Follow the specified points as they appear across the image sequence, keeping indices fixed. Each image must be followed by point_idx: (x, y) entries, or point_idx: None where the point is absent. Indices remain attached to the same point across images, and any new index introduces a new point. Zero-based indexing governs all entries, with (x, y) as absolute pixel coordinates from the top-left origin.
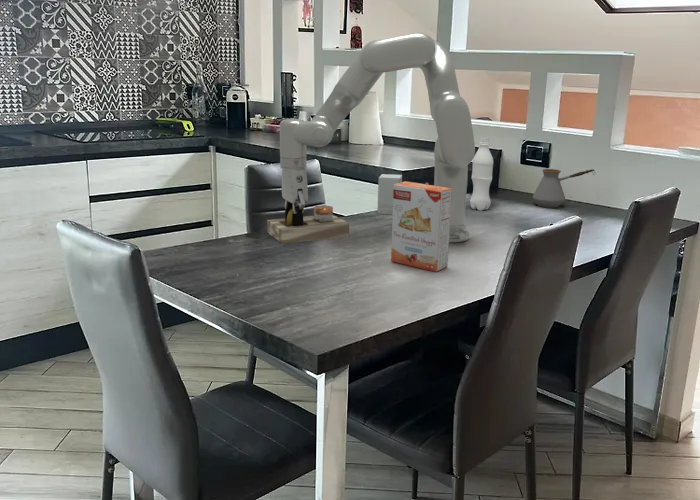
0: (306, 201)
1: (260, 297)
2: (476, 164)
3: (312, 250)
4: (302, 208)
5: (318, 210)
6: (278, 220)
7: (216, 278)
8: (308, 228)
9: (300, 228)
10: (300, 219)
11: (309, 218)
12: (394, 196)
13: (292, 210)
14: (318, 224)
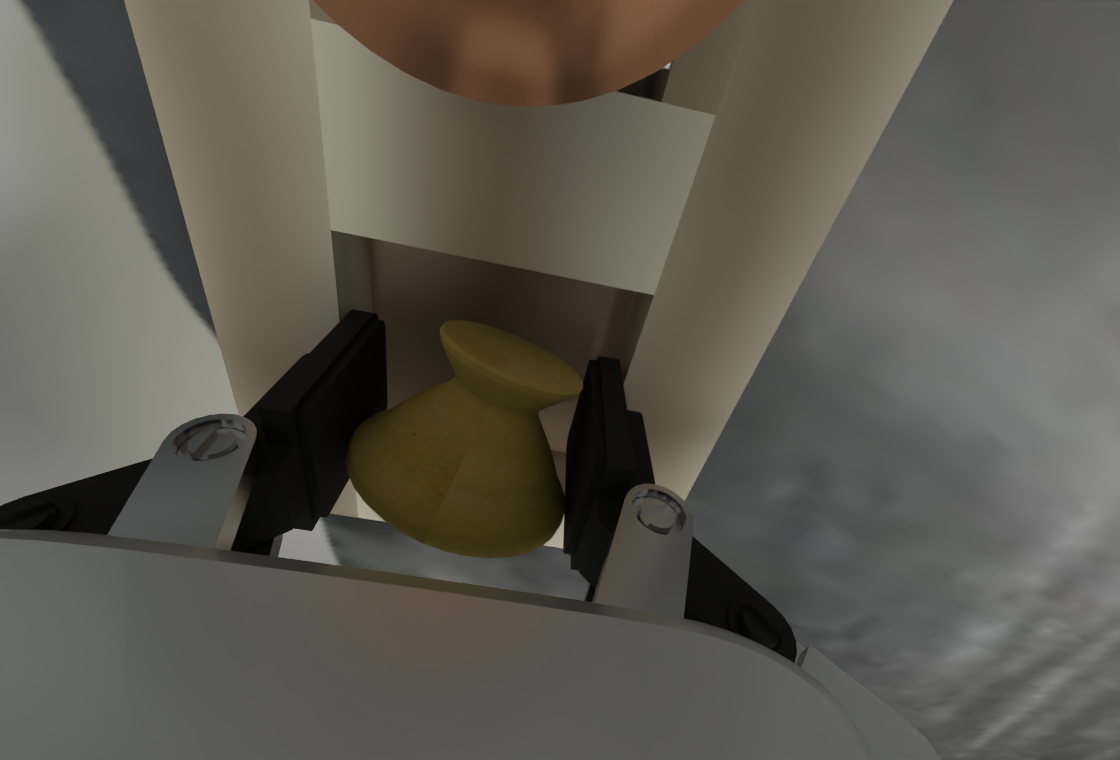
0: (803, 702)
1: (1072, 740)
2: None
3: (924, 416)
4: (786, 640)
5: (639, 79)
6: None
7: None
8: (748, 367)
9: (712, 445)
10: (643, 453)
11: (307, 56)
12: None
13: (494, 556)
14: (736, 180)
